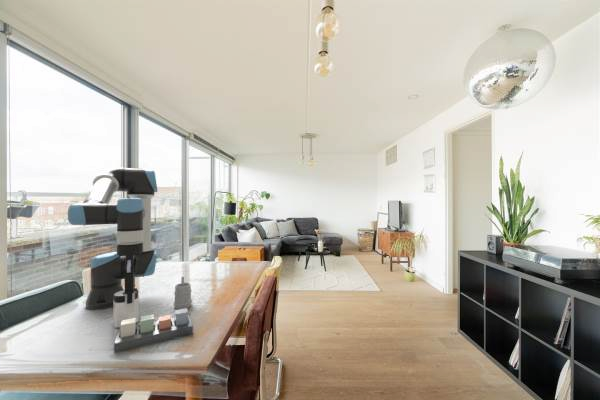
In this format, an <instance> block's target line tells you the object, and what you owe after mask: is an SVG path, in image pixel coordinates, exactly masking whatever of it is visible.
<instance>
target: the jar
mask: <svg viewBox="0 0 600 400" xmlns="http://www.w3.org/2000/svg"><path fill="white" fill-rule="evenodd" d="M124 291H125V289H124V290H122V291H119V292H116V293H115V294H114V300H113V306H112V307H113V310H112V311H113V312H112V315H113V316H112V322H113V323H112V324H113V327H114V328H115V329H117V328H118V329H119V328H121V322H122V320H126V319H132V318H136V323H139V322H140V309H139V308H140V297H139V289H137V290H136V291H135V311H134V312H129V313H125V294H124V295H123V292H124Z"/></svg>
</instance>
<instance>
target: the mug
mask: <svg viewBox="0 0 600 400" xmlns="http://www.w3.org/2000/svg"><path fill="white" fill-rule="evenodd" d="M180 277H181V279H180V281H181V282H180V283H177V284H176V285H175V287H174V289H175V290H174V292H173V294H174V302H173V306H174V309H175V310H180V309H185V308H187V309H188V308H191V307H192V303H193V300H192V289H191V287H192V286H191V283H190V282H185V276H180Z"/></svg>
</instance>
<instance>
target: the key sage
mask: <svg viewBox="0 0 600 400" xmlns="http://www.w3.org/2000/svg"><path fill="white" fill-rule="evenodd" d="M154 321H155V314H148V315H143V316H140V319H139V324H140V334H141V333H145V332H150V331H154Z"/></svg>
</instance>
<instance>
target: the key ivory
mask: <svg viewBox="0 0 600 400" xmlns="http://www.w3.org/2000/svg"><path fill="white" fill-rule="evenodd" d="M136 325H137V322H136V318H132V319H126V320H122V322H121V327H120V328H121V338H122V337H127V336H132V335H135V333H136Z"/></svg>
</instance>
